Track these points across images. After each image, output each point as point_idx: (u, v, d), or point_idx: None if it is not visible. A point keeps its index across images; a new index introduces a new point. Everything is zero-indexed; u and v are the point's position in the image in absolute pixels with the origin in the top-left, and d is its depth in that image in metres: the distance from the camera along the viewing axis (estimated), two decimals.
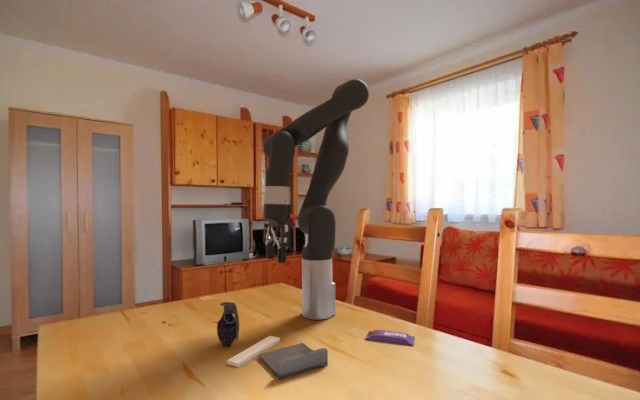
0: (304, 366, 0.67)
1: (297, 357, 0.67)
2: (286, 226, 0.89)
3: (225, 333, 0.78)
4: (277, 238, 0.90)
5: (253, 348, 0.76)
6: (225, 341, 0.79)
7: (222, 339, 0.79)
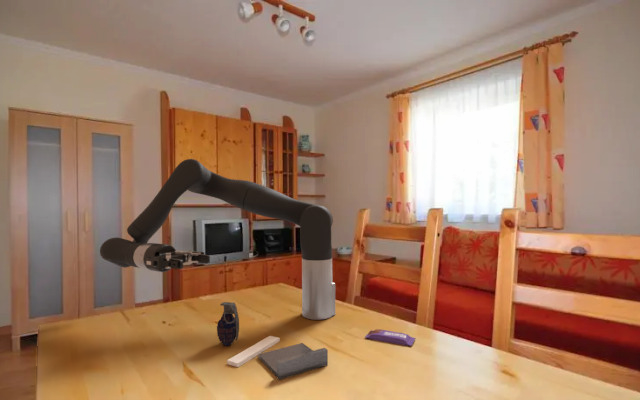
0: (304, 366, 0.67)
1: (297, 357, 0.67)
2: (146, 262, 0.85)
3: (225, 333, 0.78)
4: None
5: (253, 348, 0.76)
6: (225, 341, 0.79)
7: (222, 339, 0.79)
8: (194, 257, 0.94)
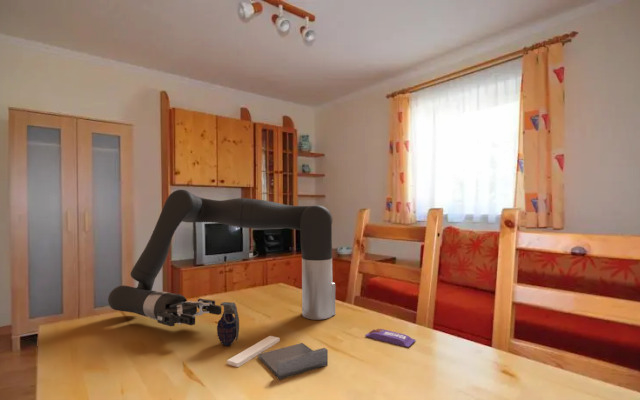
0: (304, 366, 0.67)
1: (297, 357, 0.67)
2: (157, 317, 0.83)
3: (225, 333, 0.78)
4: None
5: (253, 348, 0.76)
6: (225, 341, 0.79)
7: (222, 339, 0.79)
8: (205, 306, 0.92)
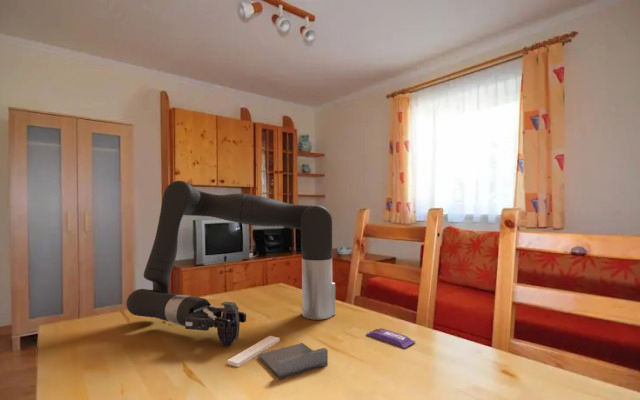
0: (304, 366, 0.67)
1: (297, 357, 0.67)
2: (186, 323, 0.78)
3: (225, 333, 0.78)
4: None
5: (253, 348, 0.76)
6: (225, 341, 0.79)
7: (222, 339, 0.79)
8: None
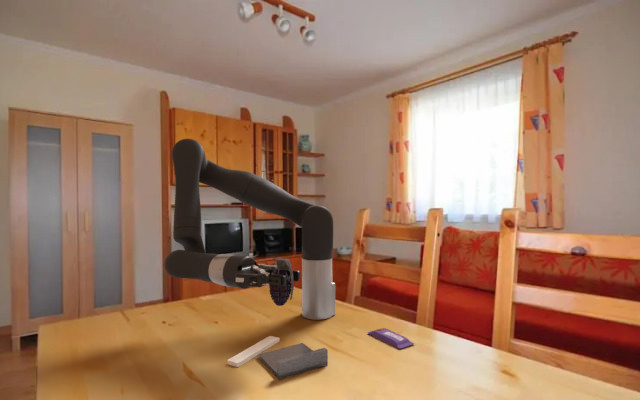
0: (304, 366, 0.67)
1: (297, 357, 0.67)
2: (237, 279, 0.71)
3: (279, 290, 0.71)
4: None
5: (253, 348, 0.76)
6: (279, 300, 0.71)
7: (276, 297, 0.71)
8: None
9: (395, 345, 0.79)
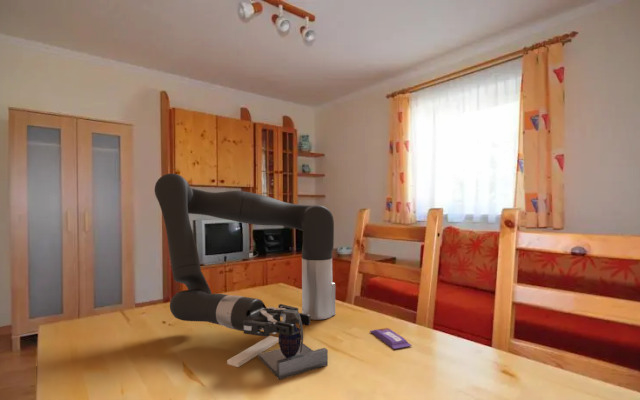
0: (304, 366, 0.67)
1: (297, 357, 0.67)
2: (244, 327, 0.69)
3: (289, 345, 0.70)
4: None
5: (253, 348, 0.76)
6: (289, 353, 0.70)
7: (285, 351, 0.70)
8: None
9: (391, 345, 0.79)
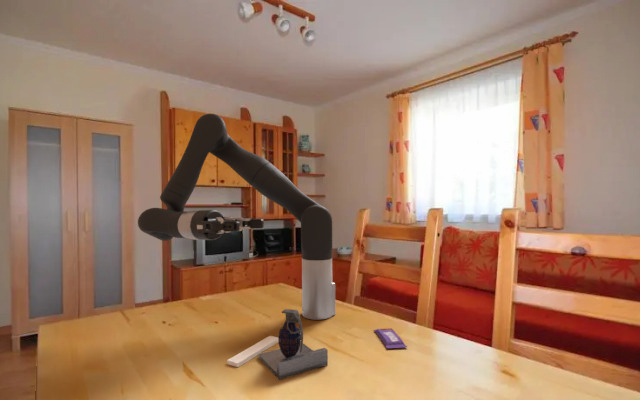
0: (304, 366, 0.67)
1: (297, 357, 0.67)
2: (197, 226, 0.76)
3: (289, 344, 0.70)
4: (218, 231, 0.77)
5: (253, 348, 0.76)
6: (289, 353, 0.70)
7: (285, 351, 0.70)
8: (244, 224, 0.86)
9: (385, 345, 0.79)
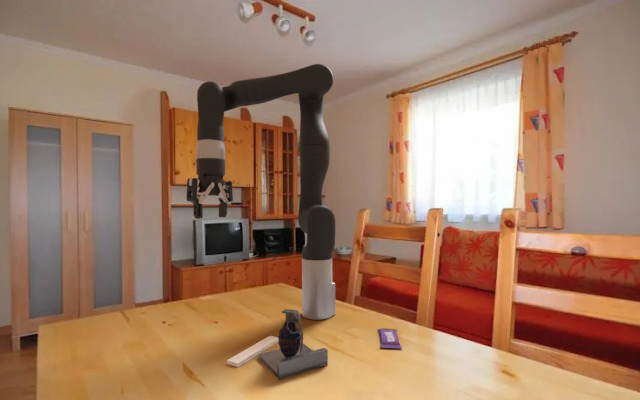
0: (304, 366, 0.67)
1: (297, 357, 0.67)
2: (190, 179, 0.85)
3: (289, 344, 0.70)
4: (196, 193, 0.89)
5: (253, 348, 0.76)
6: (289, 353, 0.70)
7: (285, 351, 0.70)
8: (225, 191, 0.97)
9: (381, 344, 0.79)
